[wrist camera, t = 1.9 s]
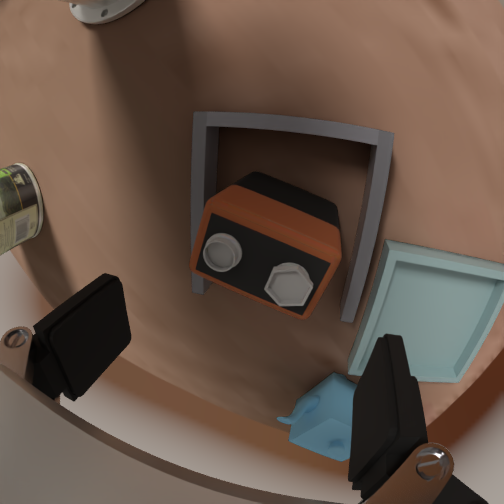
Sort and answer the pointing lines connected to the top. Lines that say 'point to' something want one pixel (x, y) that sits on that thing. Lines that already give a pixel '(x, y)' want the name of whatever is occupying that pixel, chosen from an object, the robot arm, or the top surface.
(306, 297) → the battery
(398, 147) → the top surface
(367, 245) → the frame
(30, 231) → the coffee can
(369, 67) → the top surface
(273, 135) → the top surface
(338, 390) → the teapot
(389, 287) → the tray
